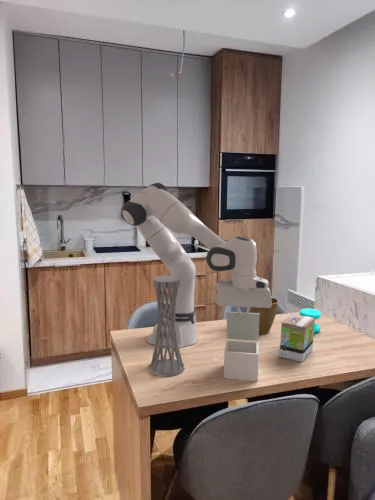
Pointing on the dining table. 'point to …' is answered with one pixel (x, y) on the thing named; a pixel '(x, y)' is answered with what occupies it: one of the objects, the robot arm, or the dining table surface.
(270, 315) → the plant pot
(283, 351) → the tea box
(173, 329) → the grey lattice tower
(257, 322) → the lid flap
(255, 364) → the carton
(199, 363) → the dining table surface
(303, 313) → the cyan rounded piece
